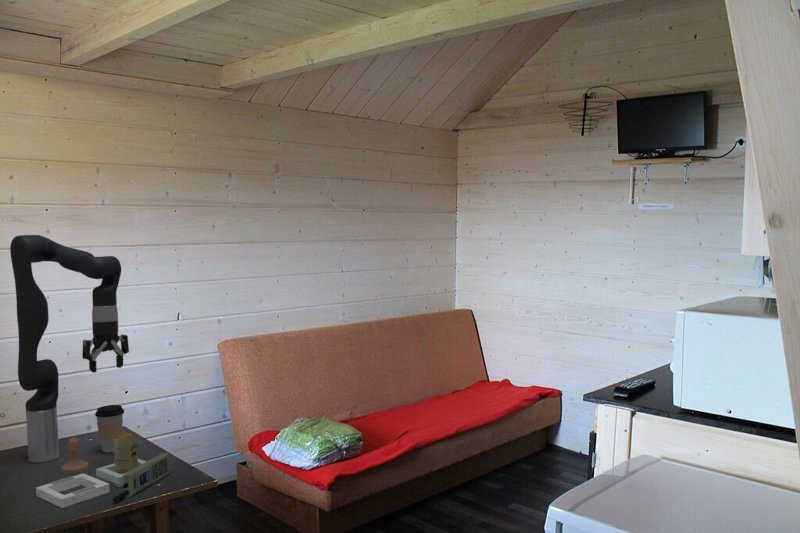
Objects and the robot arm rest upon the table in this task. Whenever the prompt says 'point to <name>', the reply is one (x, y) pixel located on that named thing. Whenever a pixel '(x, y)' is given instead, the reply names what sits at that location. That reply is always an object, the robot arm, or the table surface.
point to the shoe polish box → (125, 452)
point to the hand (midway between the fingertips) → (106, 369)
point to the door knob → (74, 459)
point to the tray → (112, 474)
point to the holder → (53, 496)
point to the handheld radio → (144, 475)
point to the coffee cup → (109, 425)
